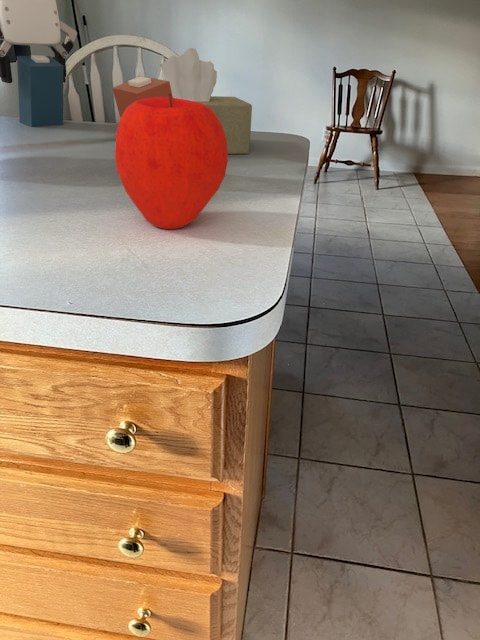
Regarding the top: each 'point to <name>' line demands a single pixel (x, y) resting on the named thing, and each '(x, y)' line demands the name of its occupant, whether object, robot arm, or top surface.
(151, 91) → the tissue pack front
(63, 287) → the top surface
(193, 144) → the apple
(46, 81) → the tissue pack back
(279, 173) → the top surface
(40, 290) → the top surface
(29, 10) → the robot arm
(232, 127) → the tissue box
